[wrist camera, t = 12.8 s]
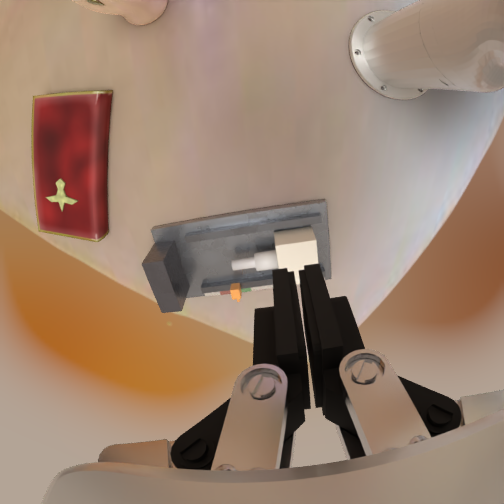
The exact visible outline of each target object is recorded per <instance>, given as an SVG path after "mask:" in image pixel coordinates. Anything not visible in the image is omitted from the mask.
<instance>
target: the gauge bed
mask: <svg viewBox="0 0 504 504" xmlns="http://www.w3.org/2000/svg"><path fill="white" fill-rule="evenodd" d="M304 227H312V229H313V232H314V235H315V238H316V242H317V254H318V263H319V264H320V267H321V270H322V274H323V277H324V280H327V279H331V263H330V245H329V230H328V217H327V205H326V201H325V199H321V200H314V201H307V202H299V203H292V204H285V205H279V206H272V207H265V208H259V209H252V210H246V211H240V212H233V213H227V214H221V215H215V216H210V217H204V218H198V219H192V220H187V221H181V222H176V223H171V224H165V225H160V226H155V227H153V228H152V229H151V232H152V235H153V238H154V241H155V244H154V245H153V247H152V248H151V250H150V252H149V253H148V255H147V256H146V258H145V259H144V261H143V263H142V266H143V268H144V271H145V273H146V276H147V278H148V281H149V283H150V286H151V288H152V291H153V293H154V295H155V298H156V300H157V303H158V305H159V307H160V309H161V312H162V313H166V312H177V311H182V309H183V306H184V303H185V300H186V298H190V297H199V296H213V295H224V294H231V292H230V288H231V284H233V283H240V287H241V291H242V292H248V291H254V290H262V289H269V288H273V277H272V270H276V269H279V267H278V268H276V269H269V270H262V271H257V270H256V268H248V269H241V270H234V271H233V269H232V260H236V259H243V258H250V257H254V253H258V252H265V251H272V250H276V248H275V238H274V232H276V231H283V230H290V229H297V228H304ZM296 285H298V284H296Z"/></svg>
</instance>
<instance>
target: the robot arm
mask: <svg viewBox="0 0 504 504" xmlns="http://www.w3.org/2000/svg"><path fill="white" fill-rule="evenodd" d="M368 19H370V20H371V22H370V21H369V20H368ZM349 51H350V57H351V60H352V63H353V65H354V67H355V69H356V71H357V73H358V74H359V76H360V77H361V78H362V80H363V81H364V82H365V83H366V84H367V85H368V86H369V87H370V88H372V89H373V90H375V91H376V92H377V93H379V94H381V95H383V96H386V97H389V98H392V99H399V100H409V99H414V98H417V97H419V96H421V95H423V94H424V93H425V92H427V91H428V90H429V89H444V90H458V91H469V92H482V93H487V92H494V91H497V90H500V89H502V88H503V87H504V0H419V1H417V2H415V3H413V4H411V5H409V6H407V7H405V8H403V9H401V10H399V11H397V12H395V11H390V10H379V11H374V12H371V13H369V14H367V15H365V16H364V17H362V18H361V19H360V20H359V21H358V22H357V23H356V24H355V26H354V27H353V29H352V31H351V35H350V38H349ZM354 52H357V55H356V54H355V53H354ZM381 87H383V90H381ZM418 89H419V90H418ZM272 277H273V295H274V306H273V307H265V308H257V309H255V314H254V347H253V366H251V367H249V368H247V369H245V370H244V371H242V373H241V374H240V375H239V376H238V378H237V380H236V382H235V385H234V388H233V392H232V396H231V398H230V399H228V400H227V401H226V402H225V403H224V404H222V405H221V406H220V407H219V408H217V409H216V410H214V411H213V412H212V413H211V414H209V415H208V416H207V417H205V418H204V419H203V420H201V421H200V422H199V423H197V424H196V425H195V426H193V427H192V428H190V429H189V430H188V431H186V432H185V433H184V434H182V435H181V436H180V437H179V438H178V439H177V440H175V441H168V440H167V439H163V440H155V441H147V442H138V443H127V444H114V445H110V446H108V447H106V448H105V449H104V450H103V451H102V452H101V453H100V455H99V459H98V462H94V463H85V464H80V465H76V466H72V467H69V468H67V469H64V470H63V471H61V472H59V473H58V474H57V475H56V476H55V477H54V479H53V480H52V482H51V483H50V485H49V487H48V489H47V491H46V493H45V495H44V498H43V501H42V503H41V504H504V390H499V391H494V392H489V393H483V394H477V395H471V396H464V397H460V399H459V400H455V401H454V400H452V399H451V398H449V397H447V396H444V395H442V394H440V393H437V392H435V391H432V390H430V389H428V388H425V387H422V386H421V385H418V384H416V383H413V382H411V381H409V380H406V379H404V378H402V377H400V376H397V374H396V372H395V371H394V369H393V367H392V366H391V364H390V362H389V361H388V359H387V358H386V357H385V356H384V355H383V354H381V353H380V352H378V351H375V350H371V349H365V347H364V344H363V342H362V339H361V336H360V333H359V330H358V327H357V324H356V321H355V318H354V316H353V313H352V310H351V307H350V304H349V302H348V299H347V297H346V296H342V297H335V298H330V296H329V293H328V290H327V287H326V283H325V280H324V277H323V274H322V270H321V267H320V264H319V263H317V264H310V265H304V270H299V279H300V288H301V298H302V308H303V318H304V328H305V336H306V342H307V349H308V355H309V362H310V369H311V376H312V383H313V391H314V398H315V406H316V408H318V407H322V411H323V415H325V418H326V419H328V420H329V421H331V422H333V423H335V424H336V430H337V432H338V435H339V438H340V441H341V444H342V446H343V449H344V452H345V455H346V458H347V460H345V461H339V462H333V463H327V464H320V465H312V466H304V467H295V468H292V460H293V453H294V444H295V436H296V432H295V431H296V430H297V429H298V428H299V427H300V425H302V424H303V423H304V422H305V414H304V409H310V408H311V406H310V391H309V377H308V364H307V353H306V345H305V338H304V331H303V325H302V318H301V312H300V305H299V299H298V293H297V287H296V281H295V275H294V271H290V272H288V270H287V268H283V269H276V270H272Z"/></svg>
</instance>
